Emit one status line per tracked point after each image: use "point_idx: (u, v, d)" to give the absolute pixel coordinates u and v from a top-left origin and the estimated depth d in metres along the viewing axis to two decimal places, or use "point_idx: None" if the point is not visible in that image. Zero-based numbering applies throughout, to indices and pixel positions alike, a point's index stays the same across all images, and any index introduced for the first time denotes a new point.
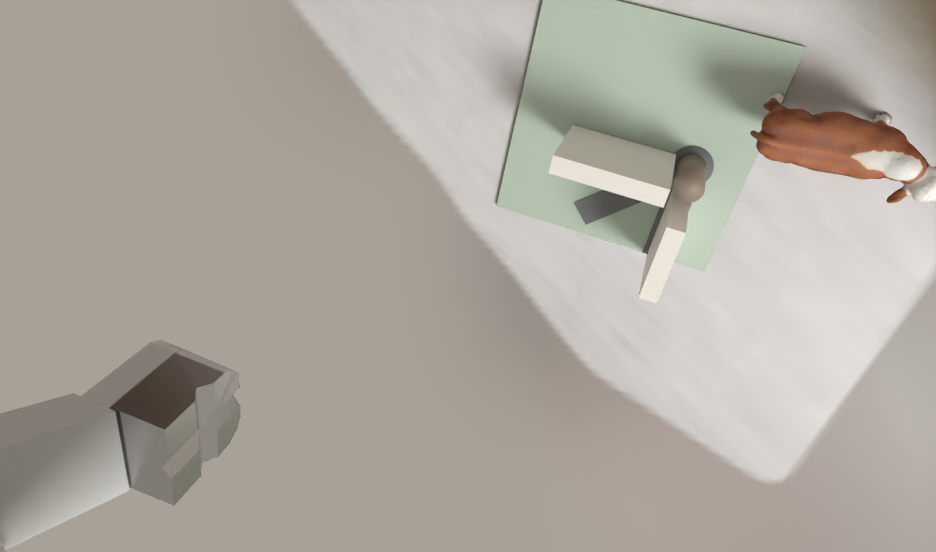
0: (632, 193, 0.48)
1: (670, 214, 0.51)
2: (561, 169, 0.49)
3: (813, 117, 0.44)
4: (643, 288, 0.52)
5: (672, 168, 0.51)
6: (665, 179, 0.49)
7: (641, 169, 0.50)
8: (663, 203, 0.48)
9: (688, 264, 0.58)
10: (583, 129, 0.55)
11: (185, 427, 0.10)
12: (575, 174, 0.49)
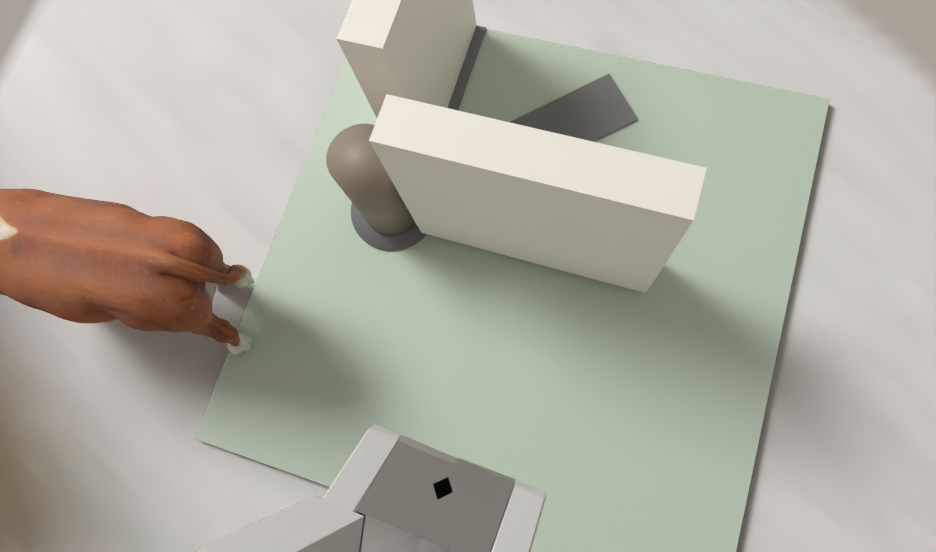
0: (465, 124, 0.18)
1: (396, 92, 0.22)
2: (665, 180, 0.17)
3: (108, 312, 0.21)
4: None
5: (406, 200, 0.22)
6: (397, 170, 0.20)
7: (460, 193, 0.20)
8: (386, 105, 0.18)
9: None
10: (619, 283, 0.24)
11: None
12: (624, 167, 0.17)
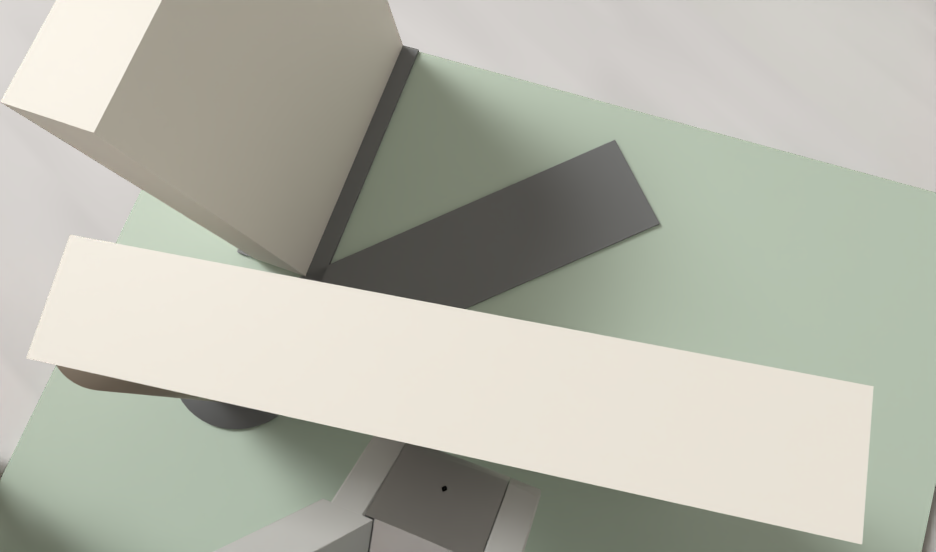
0: (255, 301, 0.07)
1: (185, 198, 0.11)
2: (769, 428, 0.06)
3: None
4: None
5: None
6: None
7: None
8: (69, 263, 0.08)
9: None
10: None
11: None
12: (657, 397, 0.07)
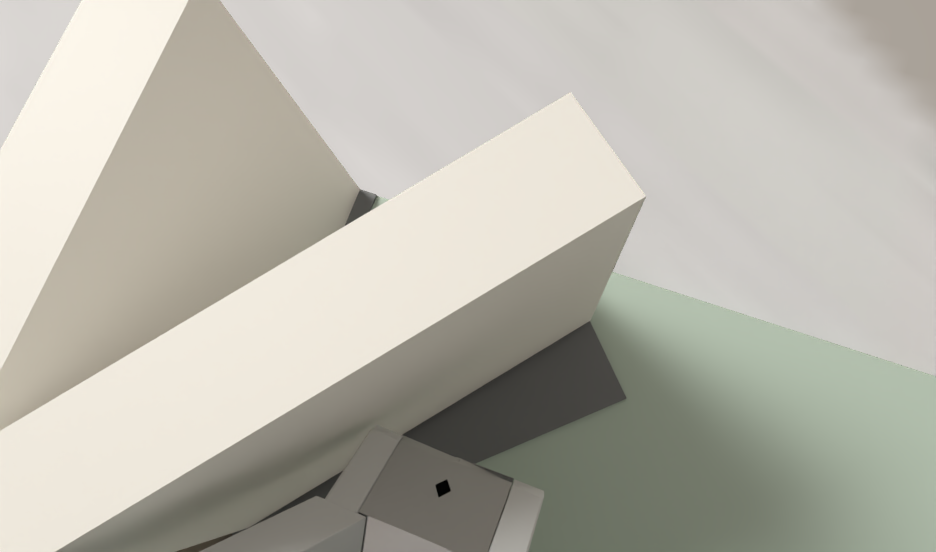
0: (84, 416, 0.07)
1: None
2: (530, 175, 0.07)
3: None
4: (164, 34, 0.09)
5: None
6: None
7: (222, 495, 0.09)
8: None
9: None
10: (552, 341, 0.14)
11: None
12: (440, 220, 0.07)
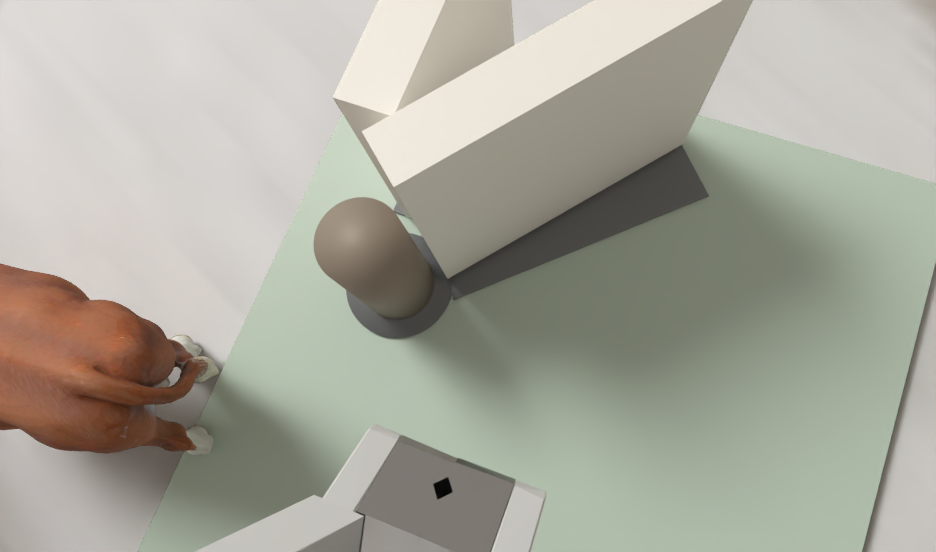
0: (471, 87, 0.14)
1: None
2: None
3: None
4: None
5: (434, 244, 0.18)
6: (426, 205, 0.15)
7: (500, 176, 0.16)
8: (373, 140, 0.14)
9: None
10: (658, 154, 0.21)
11: None
12: None
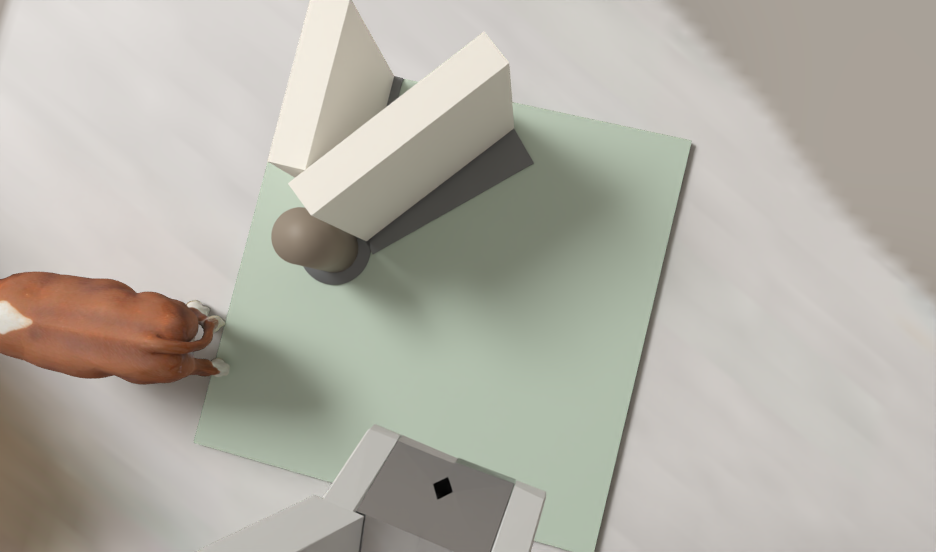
0: (347, 149, 0.23)
1: None
2: (473, 60, 0.23)
3: (114, 374, 0.27)
4: (341, 21, 0.24)
5: (348, 229, 0.28)
6: (335, 215, 0.25)
7: (378, 188, 0.26)
8: (295, 188, 0.23)
9: None
10: (496, 139, 0.31)
11: None
12: (447, 77, 0.23)
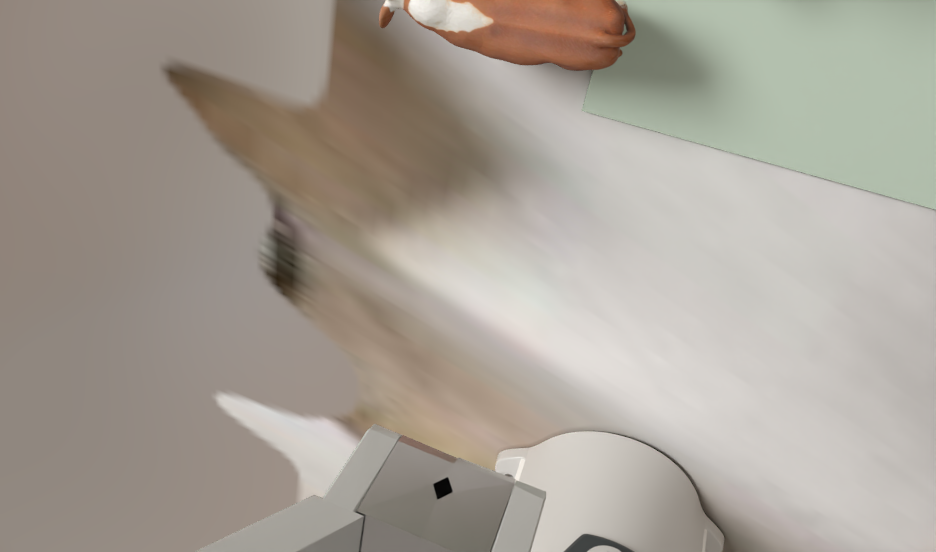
0: None
1: None
2: None
3: None
4: None
5: None
6: None
7: None
8: None
9: None
10: None
11: None
12: None
